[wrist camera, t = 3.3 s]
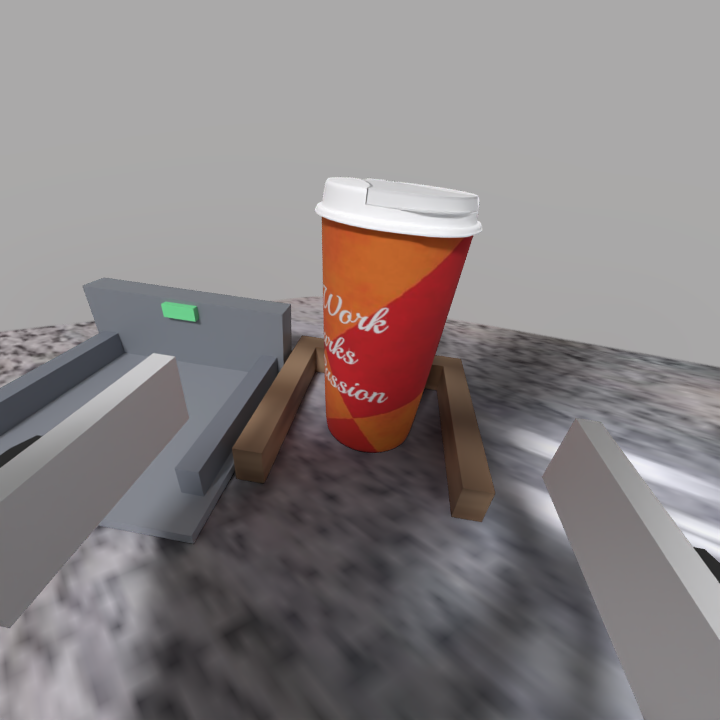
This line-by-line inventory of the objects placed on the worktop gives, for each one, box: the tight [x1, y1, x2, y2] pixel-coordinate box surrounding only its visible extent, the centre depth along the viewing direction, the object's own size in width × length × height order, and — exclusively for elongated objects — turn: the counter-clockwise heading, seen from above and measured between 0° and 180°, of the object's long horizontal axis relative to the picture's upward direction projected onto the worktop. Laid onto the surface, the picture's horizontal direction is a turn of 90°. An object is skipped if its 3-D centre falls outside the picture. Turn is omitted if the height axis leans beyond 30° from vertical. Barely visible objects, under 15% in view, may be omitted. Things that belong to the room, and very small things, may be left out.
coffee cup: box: [315, 177, 482, 453], centre depth 20 cm, size 8×8×15 cm
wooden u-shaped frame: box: [232, 336, 495, 522], centre depth 23 cm, size 13×14×2 cm
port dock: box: [0, 278, 292, 544], centre depth 21 cm, size 15×15×6 cm
